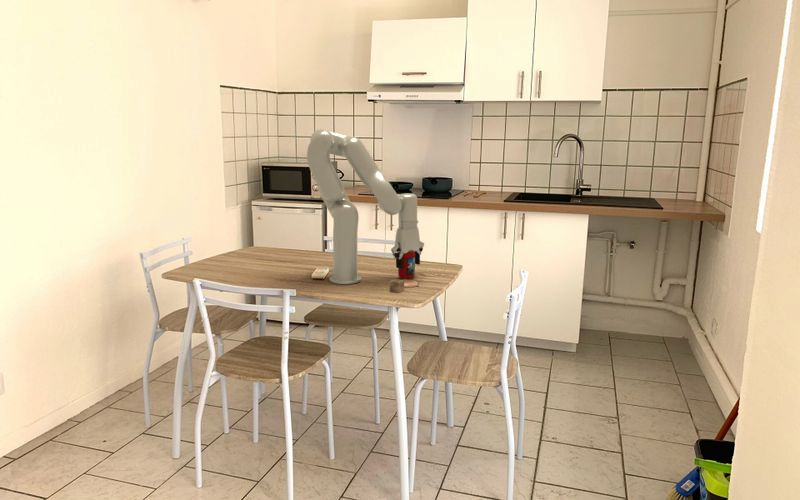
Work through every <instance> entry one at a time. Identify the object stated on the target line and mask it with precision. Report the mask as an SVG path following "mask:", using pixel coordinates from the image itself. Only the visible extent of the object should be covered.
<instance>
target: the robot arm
mask: <svg viewBox="0 0 800 500" xmlns="http://www.w3.org/2000/svg"><path fill="white" fill-rule="evenodd" d="M309 141H310V142H309V144H308V146H307V152H306V161H307V165H308V167H309V171H310V172H311V174H312V176H313V178H314V180H315V182H316V184H317V192H319V194H320V195H319V196H320V197H321V198H322V201H323V202H324V205H325V207H326V208H327V210H328V212H329V214H330V216H331V217H332V219H333V232H332V245H333V249H332V250H333V251H332V252H333V257H332V258H333V261H332V263H333V264H332V265H333V266H332V268H330V269H329V272H331V273H332V275H331V276H330V277H329V282H331V284H332V283H333V284H337V285H338V284H339V285H353V284H357V283H360V282H361V281H362V277H361V276H360V275H358V244H359V243H358V229H359V211H358V209H357V206H356V205H355V204H354V203H352V202H351V200H350V199H349V196H348V195H347V192H346V190H345V186H344V183H343V181H342V180H341V178H340V177H339V175H338V173H337V171H336V169H335V167H334V165H333V163H332V160H331V157H330V155H335V156H339V157H343V158H346V160H347V162H348V164H349V165H350V166H351V168H352V169H353V171H354V172H355V175H356V176H357V177H358V179H359V180H360V182H361V183H362V184H363V185H365V186H366V187H367V188H368V189H369V191H370V192H371V193H372V195H373V196H374V197H375V199H376V200H377V205H378V208H379V209H380V210H381V211H383V212H384V213H385V214H386V215H390V216H395V215H398V228H396V231H395V232H396V233H395V238H394V239H395V241H394V246H393V247H391V249H390V251H391V253H392V256H393V257H394V259H395V267H396V268H397V269H398V268H400V269H402V268H403V264H402V259H401V258H402V256H403V254H405V253H407V252H408V251H409V250H413V251H414V252H415V265H419V266H420V264H421V255H422V252H423V250H424V247H425V242H422V241H421V240H420V231H419V227H418V224H419V220H418V196H417V195H416V194H415V193H406V192H405V193H397V192H396V190H395V189H394V188H393V186H392V185H391V183H390V182H389V180H388V179H387V178H386V176H385V174H384V173H383V171H382V170H381V169H380V168H379V166H378V164H377V162H376V161H375V160H374V158H373V157H372V156H371V154H370V152H369V151H368V149H367V148H366V146H365V145H364V143H363V142H362V141H361V139H359V138H358V137H356V136H350V135H346V134H345V135H344V134H341V133H336V132H332V131H329V130H328V129H317V130H315V131H314V132H313V133H311V136H310V140H309ZM399 254H400V255H399Z"/></svg>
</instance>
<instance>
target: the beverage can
mask: <svg viewBox="0 0 800 500" xmlns="http://www.w3.org/2000/svg"><path fill="white" fill-rule="evenodd" d="M399 255H400V254H399ZM401 259H402V264H403V268H402V269H400V268H397V269H398V270H397V271H398V272H397V273H398V274H397V276H398V278H400V280H403V279H406V280H413V278H414V277H415V275H416V274H415V273H416V264H415V252H414V251H413V250H409V251H408V252H407V253H405V254H403V256H402V258H401Z"/></svg>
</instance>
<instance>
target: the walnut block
mask: <svg viewBox="0 0 800 500" xmlns="http://www.w3.org/2000/svg"><path fill="white" fill-rule="evenodd" d="M404 291H405V288H404V280H403V279H398V278H397V279H396V278H395V279H391V280H390V281H389V292H391V293H396V294H400V293H402V292H404Z"/></svg>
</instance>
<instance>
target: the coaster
mask: <svg viewBox="0 0 800 500" xmlns="http://www.w3.org/2000/svg"><path fill="white" fill-rule="evenodd" d="M402 280H404V289H405V288H406V289H407V288H408V289H409V288H415V287H418V286H419V282H418V281H417V280H413V279H402Z"/></svg>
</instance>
